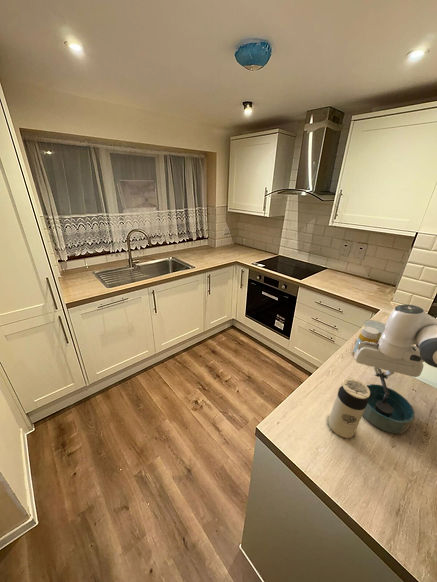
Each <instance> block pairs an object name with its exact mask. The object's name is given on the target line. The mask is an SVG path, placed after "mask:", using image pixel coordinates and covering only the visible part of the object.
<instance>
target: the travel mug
mask: <svg viewBox="0 0 437 582" xmlns="http://www.w3.org/2000/svg"><path fill="white" fill-rule="evenodd" d="M341 384H342V385H341V386H340V387H339V388H338V391H337V394H336V397H335V399H334V402H333V405H332V408H331V411H330V414H329V417H328V421H327V422H328V423H327V424H328V426H329V428H330V429H331V430H332V431H333V432H334V433H335V434H336V435H337V436H340V437H341V438H347V439H349V438H352V437H353V436H354V435H355V432H356V430H357V428H358V426H359V424H360V422H361V419H362V417H363V412H364V410H365V408H366V406H367V403H368V397H369V396H370V390H369V388H368V387H367V386H366V384H365V383H363V381H361V380H359V379H356V378H351V377H348V378H345V379H343V381H342V383H341Z"/></svg>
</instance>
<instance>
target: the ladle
mask: <svg viewBox="0 0 437 582" xmlns="http://www.w3.org/2000/svg"><path fill="white" fill-rule="evenodd" d="M378 371H380V376H379V380H380V383H381V386H383V389H384V392H385V395H384V397H383V400H382V401H377V402H376V404H375V410H376V411H377V412H379V413H380V414H382V415H384V416H386V417H390V416H391V415H392V413H393V408H392V406H391V405H389V404H388V403H386V400H387V398H388V396H389V392H388V389H387V387H388V386H387V383H386V379H385V378H384V377H383V371H382V369H381V368H379V370H378Z"/></svg>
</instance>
